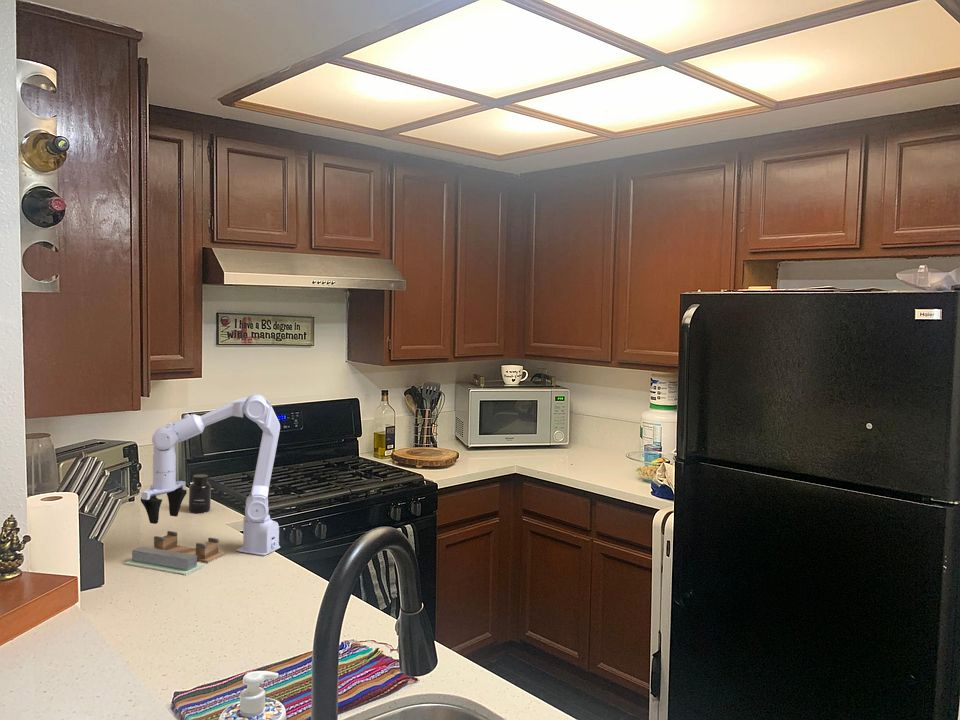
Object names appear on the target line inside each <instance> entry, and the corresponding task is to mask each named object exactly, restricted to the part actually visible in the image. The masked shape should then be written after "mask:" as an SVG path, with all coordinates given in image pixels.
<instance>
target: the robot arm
mask: <svg viewBox="0 0 960 720" xmlns="http://www.w3.org/2000/svg"><path fill="white" fill-rule="evenodd" d="M244 415H245V417H247V418H248V420H251V421H252V422H254V423H255V424H257V426H258V427H259V428H260V429H261V430H262V435H261V441H260V445H259V450H258V456H257V461H256V466H255V471H254V477H253V482H252V486H251V491H250V493H249V495H248V496H247V497H246V499H245V508H244V513H245V516H243V525H242V528H243V529H242V531H243V533H242V540H243V541H242V546H241V547H239V548H237V549H236V552H239V553H246V554H251V555H252V554H253V555H257V556H267V555H268V554H271V553H272V552H274V551H276V550H278V549H280V548H281V546H280V525H279V523H278V521H275V520H272V519H271V515H270V514H269V510H270V509H269V499H268V498H269V491H270V483H271V479H272V473H273V469H274V468H273V467H274V463H275V458H276V452H277V447H278V441H279V436H280V431H281V423H280V421H279V419H278V417H277V415H276V412H275V411H274V408H273V406H272V404H271V402H270V401H269V400H268V399H267V398H266V397H265V396H264V395H262V394H258V393H253V394H251V395H249V396H248V397H247V396H245V397H241V398H238V399H235V400H232V401H230V402H228V403H226V404H224V405H221V406H219V407H217V408H214V409H213V410H211V411H209V412H207V413H206V412H205V414H202V415H199V414H198V415H197V414H194V413H193V414H191V415H190V414H189V413H187V414H184V416H183V418H181V419H178V420H176V421H174V422H171V421H169V422H168V423H166V425H164V426H160V427H158V428H157V429H156V430H155V431H154V433H153V434H152V436H151V443H152V445H153V454H152V484H151V485H150V487H149V488H148V489H146V490H143V491H141V497H140V502H141V504H142V506H143V507H144V509H145V511H146V514H147V518H148V521H149V524H154V525H157V524H158V523H159V520H160V519H159V517H160V508H161V504H162V503H163V499H162V498H158V496H162V495H164V494H166V496H167V502H168V508H169V509H168V511H169V516H170V517H175V518H176V517H178V515H179V512H180V509H181V505H182V502H183V500H184V499H185V497H186V495H187V489H186V480H177V481H176V477H177V476H176V473H177V471H176V469H177V468H176V465H177V464H176V463H177V462H176V461H177V457H176V456H177V453H176V443H181V442H184V441H187V440H190V439H191V438H193V437H196V436H198V435H200V434H202V433H204V430H205V428H206V427H207V426H210V425H212V424H215V423H217V422H219V421H223V420H225V419H228V418H230V417H238V418H244Z"/></svg>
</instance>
